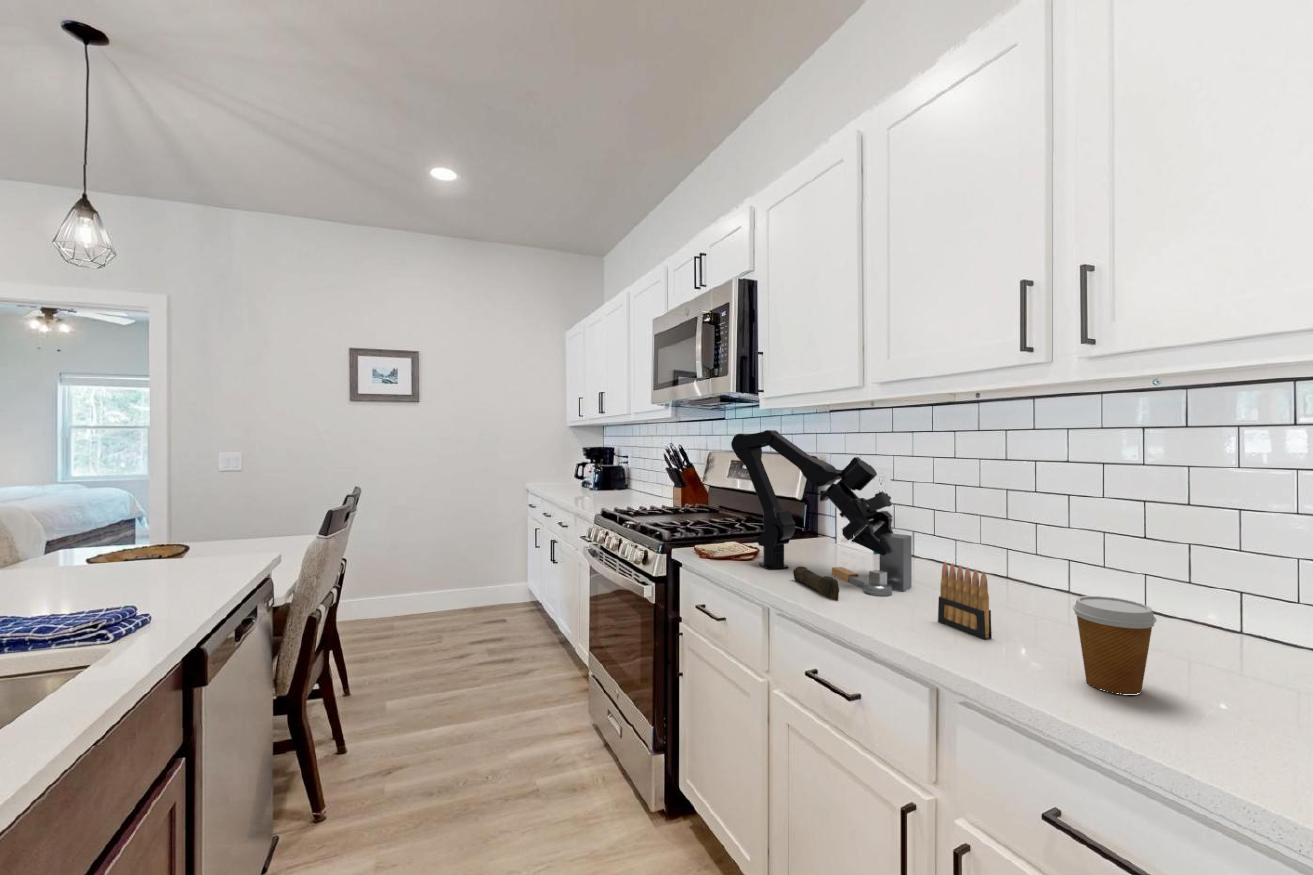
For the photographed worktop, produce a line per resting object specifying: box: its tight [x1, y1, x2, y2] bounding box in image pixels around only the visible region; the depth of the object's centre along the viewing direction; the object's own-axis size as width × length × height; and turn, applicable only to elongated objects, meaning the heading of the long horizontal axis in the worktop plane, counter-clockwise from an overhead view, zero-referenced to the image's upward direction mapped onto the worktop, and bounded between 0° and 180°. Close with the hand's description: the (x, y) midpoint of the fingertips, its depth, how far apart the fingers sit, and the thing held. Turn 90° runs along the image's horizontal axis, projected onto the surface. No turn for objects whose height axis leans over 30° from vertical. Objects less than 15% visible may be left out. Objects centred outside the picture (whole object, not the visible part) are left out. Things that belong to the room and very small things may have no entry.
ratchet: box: [831, 566, 893, 598], centre depth 142 cm, size 22×6×5 cm, turn 12°
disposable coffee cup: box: [1072, 595, 1158, 694], centre depth 84 cm, size 10×10×12 cm
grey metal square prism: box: [879, 532, 913, 593], centre depth 139 cm, size 6×6×12 cm
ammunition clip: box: [937, 561, 993, 641], centre depth 108 cm, size 11×2×12 cm, turn 19°
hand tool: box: [792, 565, 840, 601], centre depth 137 cm, size 19×4×5 cm, turn 9°
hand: (892, 551), depth 140 cm, fingers open, 9 cm apart
